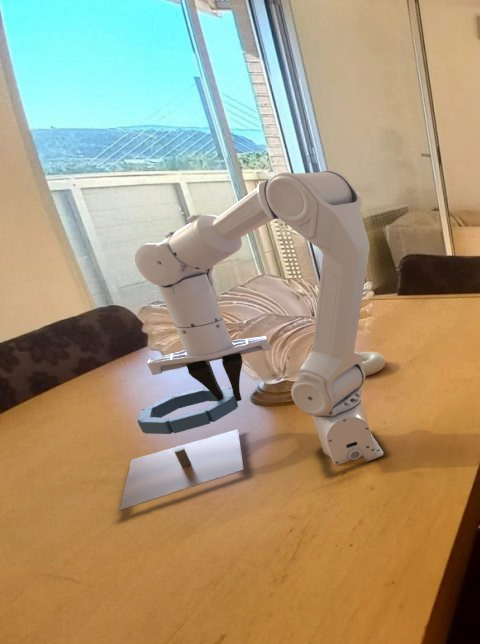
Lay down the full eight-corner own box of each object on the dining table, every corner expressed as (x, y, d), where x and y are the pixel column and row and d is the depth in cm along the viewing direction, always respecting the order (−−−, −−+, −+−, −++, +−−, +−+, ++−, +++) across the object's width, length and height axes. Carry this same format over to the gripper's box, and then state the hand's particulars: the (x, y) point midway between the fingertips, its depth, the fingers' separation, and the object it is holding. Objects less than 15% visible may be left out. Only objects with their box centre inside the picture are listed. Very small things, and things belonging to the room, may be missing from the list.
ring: (239, 415, 74) (235, 404, 73) (140, 443, 67) (134, 430, 66) (235, 391, 82) (231, 380, 81) (147, 413, 75) (141, 402, 74)
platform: (247, 477, 73) (237, 454, 72) (123, 519, 65) (109, 494, 64) (241, 436, 85) (232, 415, 83) (135, 467, 77) (123, 444, 75)
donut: (329, 379, 107) (367, 381, 105) (325, 365, 105) (363, 367, 103) (360, 361, 116) (396, 363, 114) (356, 348, 114) (392, 350, 112)
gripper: (255, 306, 79) (280, 379, 84) (137, 326, 70) (173, 406, 76) (259, 315, 74) (285, 393, 79) (132, 338, 65) (171, 423, 71)
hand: (231, 400), depth 77 cm, fingers closed on ring, 1 cm apart
